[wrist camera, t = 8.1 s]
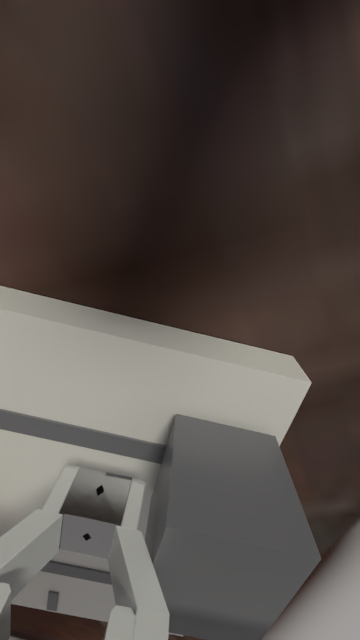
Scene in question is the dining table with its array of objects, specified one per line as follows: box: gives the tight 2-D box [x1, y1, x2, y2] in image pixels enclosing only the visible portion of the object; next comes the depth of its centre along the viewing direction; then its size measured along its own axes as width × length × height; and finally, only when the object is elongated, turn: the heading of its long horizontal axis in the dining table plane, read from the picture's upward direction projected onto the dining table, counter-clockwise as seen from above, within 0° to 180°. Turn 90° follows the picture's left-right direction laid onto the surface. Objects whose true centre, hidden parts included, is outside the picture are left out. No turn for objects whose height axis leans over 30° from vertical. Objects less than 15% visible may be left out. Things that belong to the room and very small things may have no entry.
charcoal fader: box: [145, 414, 321, 640], centre depth 9 cm, size 4×5×4 cm
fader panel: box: [0, 286, 312, 636], centre depth 14 cm, size 20×20×2 cm
